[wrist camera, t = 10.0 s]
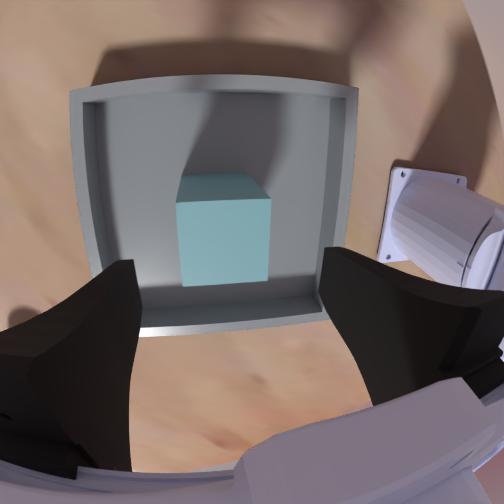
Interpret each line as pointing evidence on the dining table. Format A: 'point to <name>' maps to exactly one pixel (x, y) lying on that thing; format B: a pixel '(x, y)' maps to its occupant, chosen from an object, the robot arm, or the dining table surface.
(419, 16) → the dining table surface
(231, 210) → the block
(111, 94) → the tray
